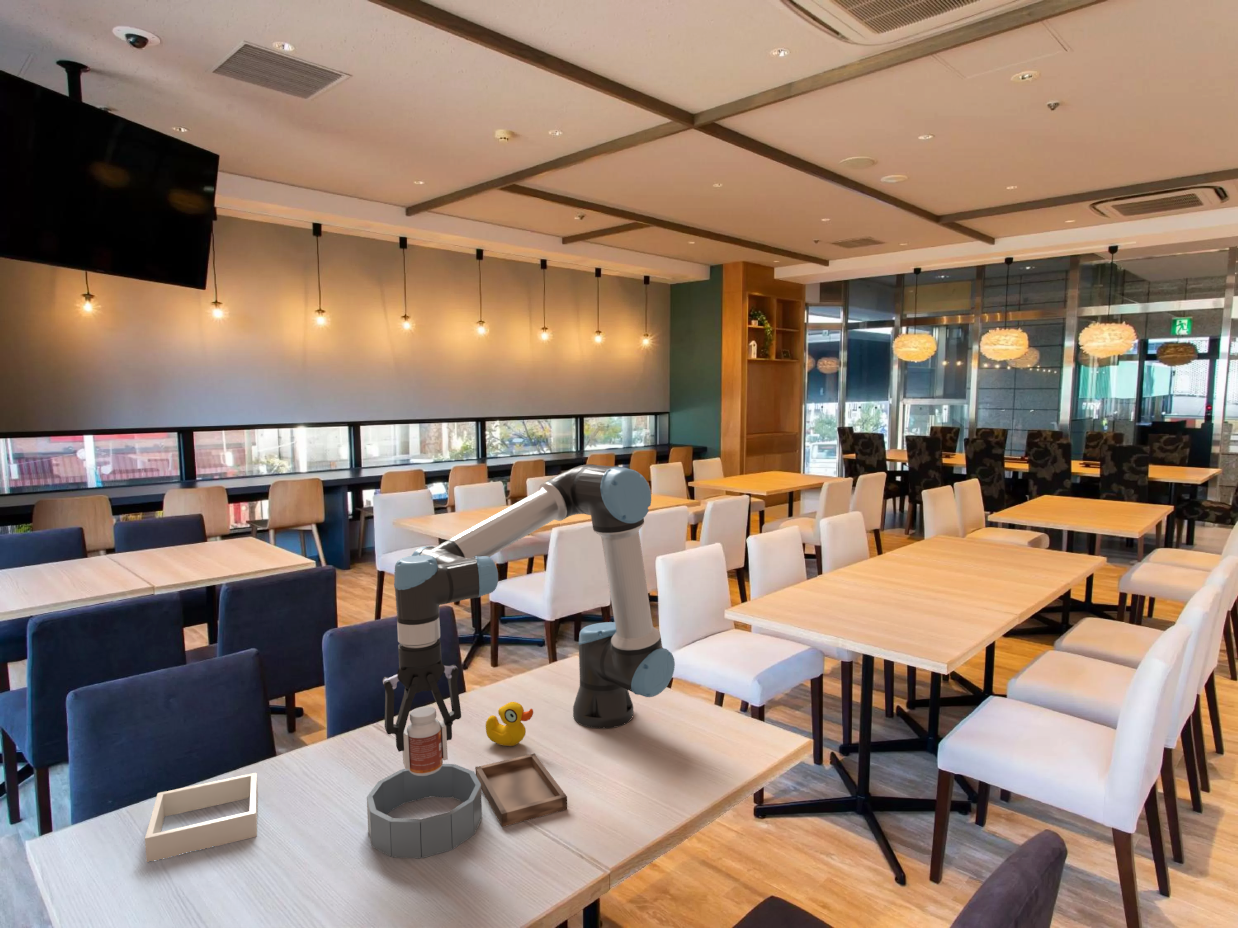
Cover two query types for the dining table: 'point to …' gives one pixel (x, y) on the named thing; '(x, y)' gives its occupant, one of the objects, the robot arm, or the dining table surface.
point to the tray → (520, 789)
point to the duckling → (508, 724)
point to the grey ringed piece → (428, 832)
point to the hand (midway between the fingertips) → (425, 760)
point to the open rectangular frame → (204, 832)
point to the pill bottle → (424, 742)
